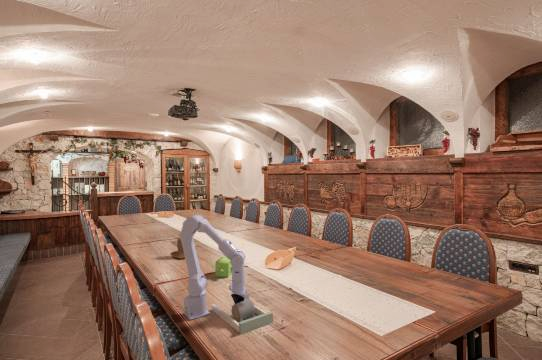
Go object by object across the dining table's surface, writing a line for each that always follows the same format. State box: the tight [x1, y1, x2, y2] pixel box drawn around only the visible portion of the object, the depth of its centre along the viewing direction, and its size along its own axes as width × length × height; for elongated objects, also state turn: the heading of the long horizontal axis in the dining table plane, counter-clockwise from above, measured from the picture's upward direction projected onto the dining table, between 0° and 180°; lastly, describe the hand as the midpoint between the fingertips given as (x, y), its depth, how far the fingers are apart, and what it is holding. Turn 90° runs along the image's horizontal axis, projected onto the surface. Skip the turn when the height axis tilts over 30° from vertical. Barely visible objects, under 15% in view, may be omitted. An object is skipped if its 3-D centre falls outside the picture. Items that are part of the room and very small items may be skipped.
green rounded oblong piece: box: [214, 256, 232, 278], centre depth 191 cm, size 18×10×10 cm, turn 167°
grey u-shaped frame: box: [211, 303, 274, 335], centre depth 136 cm, size 15×27×4 cm, turn 36°
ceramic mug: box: [231, 298, 256, 323], centre depth 131 cm, size 11×8×8 cm
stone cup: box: [170, 236, 185, 259], centre depth 234 cm, size 15×12×15 cm
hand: (239, 310), depth 138 cm, fingers closed
